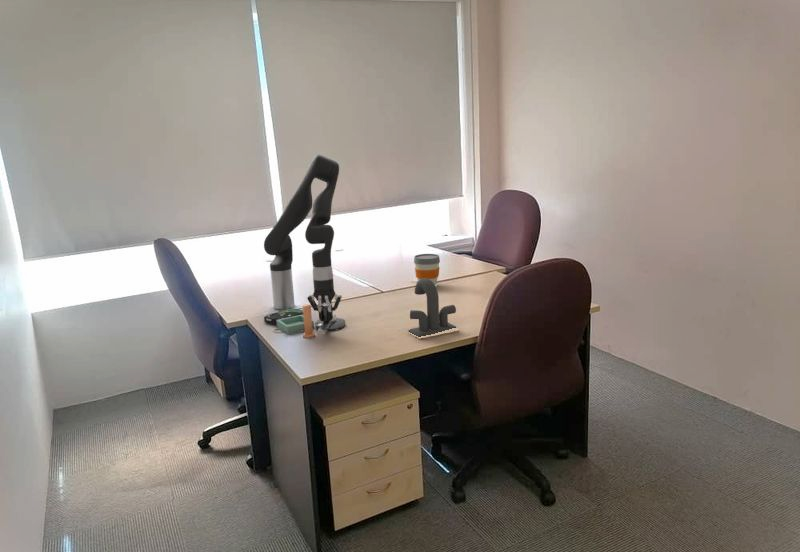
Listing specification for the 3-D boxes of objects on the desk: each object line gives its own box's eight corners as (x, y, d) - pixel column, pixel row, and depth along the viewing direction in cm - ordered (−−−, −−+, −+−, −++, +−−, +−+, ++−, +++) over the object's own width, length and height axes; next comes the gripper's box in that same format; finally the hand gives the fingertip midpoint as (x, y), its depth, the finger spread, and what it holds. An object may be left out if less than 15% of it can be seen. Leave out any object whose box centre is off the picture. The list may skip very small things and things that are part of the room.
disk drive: (282, 326, 232) (307, 316, 244) (281, 320, 231) (306, 310, 243) (264, 323, 238) (289, 313, 250) (263, 316, 237) (289, 307, 249)
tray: (277, 327, 232) (276, 320, 231) (302, 321, 238) (301, 314, 237) (287, 334, 223) (287, 327, 222) (313, 328, 229) (313, 321, 228)
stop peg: (301, 335, 221) (298, 305, 218) (311, 333, 223) (309, 303, 220) (306, 338, 217) (303, 308, 214) (316, 336, 220) (314, 306, 217)
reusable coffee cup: (445, 286, 284) (445, 256, 280) (426, 291, 276) (426, 260, 272) (428, 281, 293) (427, 252, 290) (409, 286, 285) (408, 256, 282)
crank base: (310, 325, 233) (310, 321, 232) (337, 319, 239) (336, 315, 239) (323, 333, 223) (323, 329, 223) (350, 326, 229) (350, 323, 229)
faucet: (438, 319, 234) (437, 271, 229) (459, 330, 220) (459, 279, 215) (398, 328, 226) (396, 278, 221) (418, 339, 212) (416, 287, 207)
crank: (326, 317, 236) (325, 298, 234) (338, 317, 235) (337, 298, 233) (314, 334, 216) (313, 313, 214) (327, 334, 216) (326, 313, 214)
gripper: (302, 279, 218) (306, 323, 222) (338, 279, 215) (341, 323, 219) (308, 275, 225) (311, 317, 229) (343, 274, 223) (346, 317, 227)
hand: (326, 320), depth 224 cm, fingers closed on crank, 2 cm apart
